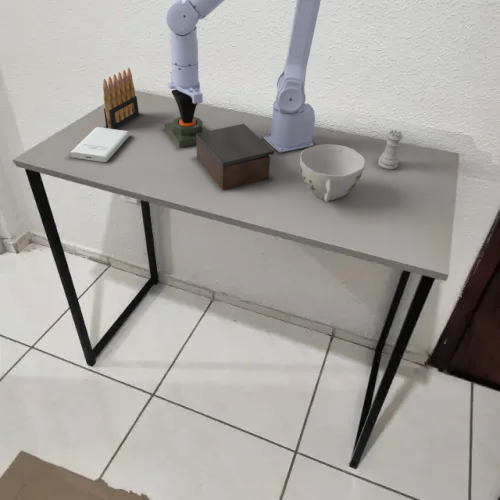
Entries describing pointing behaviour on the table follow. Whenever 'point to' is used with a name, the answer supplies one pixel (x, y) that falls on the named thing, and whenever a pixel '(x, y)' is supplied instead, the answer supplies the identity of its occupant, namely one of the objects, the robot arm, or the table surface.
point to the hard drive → (100, 144)
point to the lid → (234, 144)
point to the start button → (187, 123)
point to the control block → (184, 132)
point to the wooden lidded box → (233, 169)
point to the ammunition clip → (119, 100)
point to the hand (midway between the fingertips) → (187, 121)
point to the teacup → (331, 170)
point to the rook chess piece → (391, 151)
